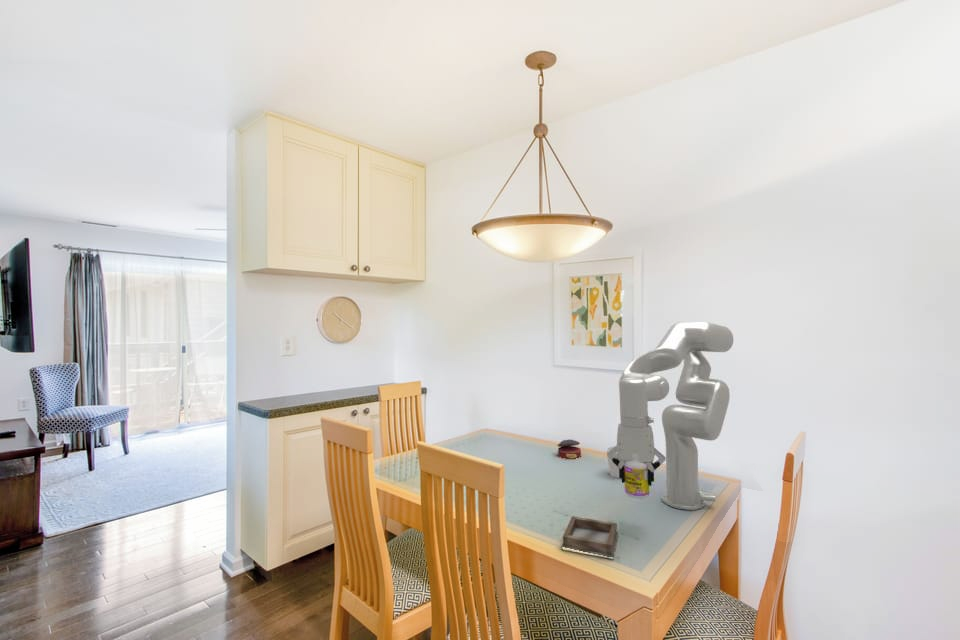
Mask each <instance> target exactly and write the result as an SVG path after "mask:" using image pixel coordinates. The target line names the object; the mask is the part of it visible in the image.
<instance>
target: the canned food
mask: <svg viewBox="0 0 960 640" xmlns="http://www.w3.org/2000/svg"><path fill="white" fill-rule="evenodd" d="M579 445H580V442H579V441H577V440H574V439H563V440H562V441H560V442H559V443H558V444H557V445H556V446H557V447H558V448H557V453H558V454H557V455H558V458H560V457H561V459H563V458H565V459H564V460H577V459H576V458H578V459H580V458H581V457H582V450H581V448H580V447H579ZM577 446H578V447H577ZM579 457H580V458H579Z"/></svg>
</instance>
